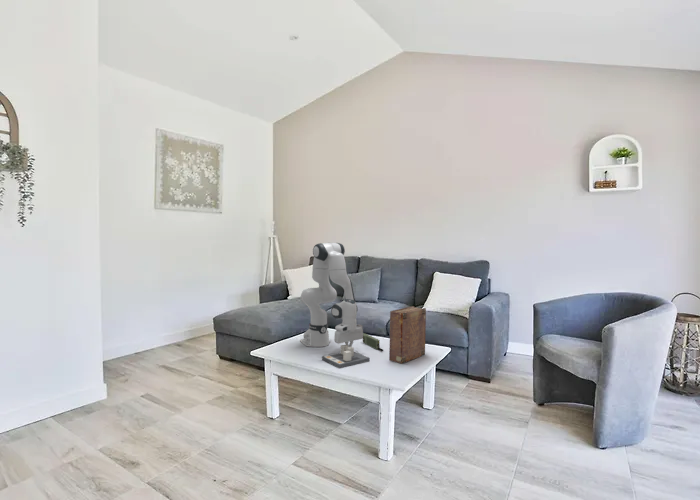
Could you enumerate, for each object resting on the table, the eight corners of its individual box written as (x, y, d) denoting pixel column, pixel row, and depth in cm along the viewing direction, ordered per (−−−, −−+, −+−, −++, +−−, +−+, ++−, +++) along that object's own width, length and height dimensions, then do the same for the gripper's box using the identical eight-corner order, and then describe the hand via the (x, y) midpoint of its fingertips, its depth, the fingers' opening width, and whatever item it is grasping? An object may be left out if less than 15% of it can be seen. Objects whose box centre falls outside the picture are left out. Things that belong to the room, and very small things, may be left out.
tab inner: (340, 353, 238) (340, 345, 238) (345, 352, 240) (345, 344, 240) (343, 354, 235) (343, 346, 235) (348, 353, 238) (348, 345, 237)
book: (412, 351, 252) (414, 305, 251) (425, 354, 245) (426, 307, 244) (389, 360, 233) (390, 311, 232) (401, 364, 227) (402, 313, 226)
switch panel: (322, 359, 232) (322, 356, 232) (351, 353, 245) (351, 350, 245) (339, 368, 218) (339, 364, 218) (369, 361, 231) (369, 357, 231)
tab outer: (343, 360, 226) (343, 351, 225) (347, 358, 228) (348, 350, 227) (346, 361, 223) (346, 352, 223) (351, 360, 225) (351, 351, 225)
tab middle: (345, 355, 234) (346, 347, 233) (350, 354, 236) (350, 346, 235) (349, 357, 231) (349, 348, 231) (353, 356, 233) (353, 347, 233)
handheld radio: (366, 342, 273) (385, 352, 251) (362, 343, 271) (380, 352, 249) (365, 333, 272) (384, 341, 250) (361, 333, 271) (380, 342, 249)
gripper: (359, 322, 248) (358, 344, 249) (333, 327, 236) (332, 349, 236) (365, 324, 243) (365, 346, 244) (339, 329, 231) (338, 352, 231)
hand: (348, 348), depth 240 cm, fingers closed
